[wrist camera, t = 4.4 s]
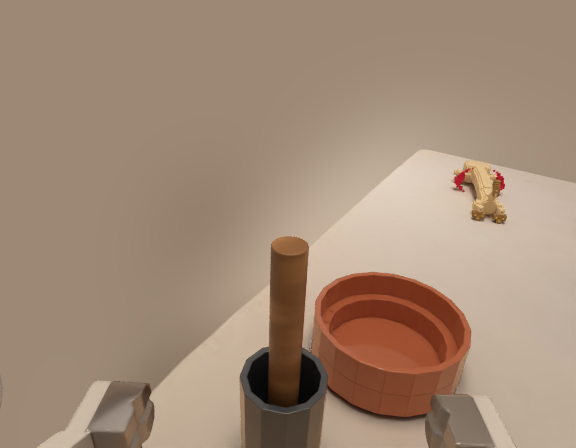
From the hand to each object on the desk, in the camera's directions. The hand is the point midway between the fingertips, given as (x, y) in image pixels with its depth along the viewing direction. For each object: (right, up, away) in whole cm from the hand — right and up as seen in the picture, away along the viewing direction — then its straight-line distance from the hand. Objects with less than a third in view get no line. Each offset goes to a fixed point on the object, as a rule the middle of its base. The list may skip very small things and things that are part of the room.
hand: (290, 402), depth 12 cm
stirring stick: (-1, -14, +21) cm, 25 cm away
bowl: (+10, -9, +32) cm, 35 cm away
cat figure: (+40, +11, +74) cm, 85 cm away
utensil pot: (-1, -14, +21) cm, 25 cm away
